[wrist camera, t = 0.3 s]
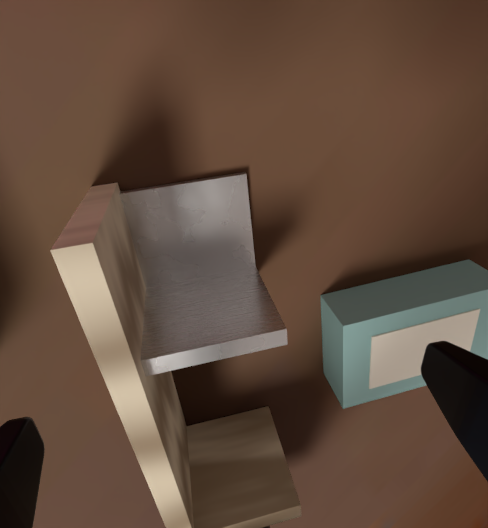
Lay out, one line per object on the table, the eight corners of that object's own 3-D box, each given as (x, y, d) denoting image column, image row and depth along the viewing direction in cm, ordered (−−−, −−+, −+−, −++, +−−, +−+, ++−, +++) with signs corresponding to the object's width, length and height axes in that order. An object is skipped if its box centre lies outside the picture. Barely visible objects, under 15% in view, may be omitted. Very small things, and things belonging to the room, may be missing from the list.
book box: (450, 335, 31) (487, 369, 28) (321, 370, 30) (343, 409, 26) (465, 257, 27) (511, 284, 24) (318, 292, 26) (343, 327, 22)
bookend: (255, 275, 24) (287, 344, 18) (149, 296, 23) (145, 376, 17) (244, 171, 20) (280, 212, 14) (120, 191, 19) (101, 244, 13)
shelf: (269, 417, 31) (301, 516, 24) (173, 442, 30) (176, 553, 23) (243, 163, 20) (287, 208, 13) (91, 186, 19) (50, 250, 12)
